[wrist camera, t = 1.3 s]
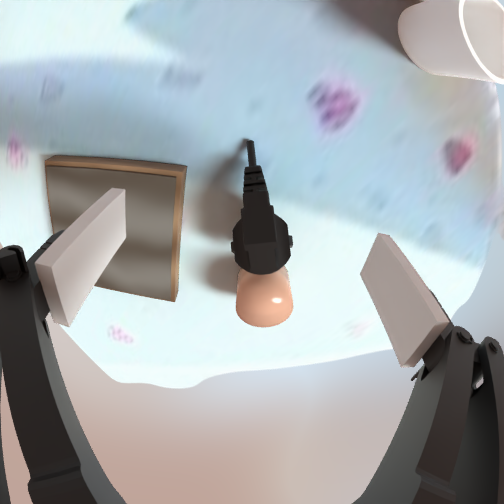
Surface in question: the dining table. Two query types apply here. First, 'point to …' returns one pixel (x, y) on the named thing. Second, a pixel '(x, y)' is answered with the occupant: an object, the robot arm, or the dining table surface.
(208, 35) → the dining table surface
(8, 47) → the dining table surface
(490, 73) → the cup
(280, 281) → the peach rounded cylinder
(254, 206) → the power plug
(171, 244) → the stand
